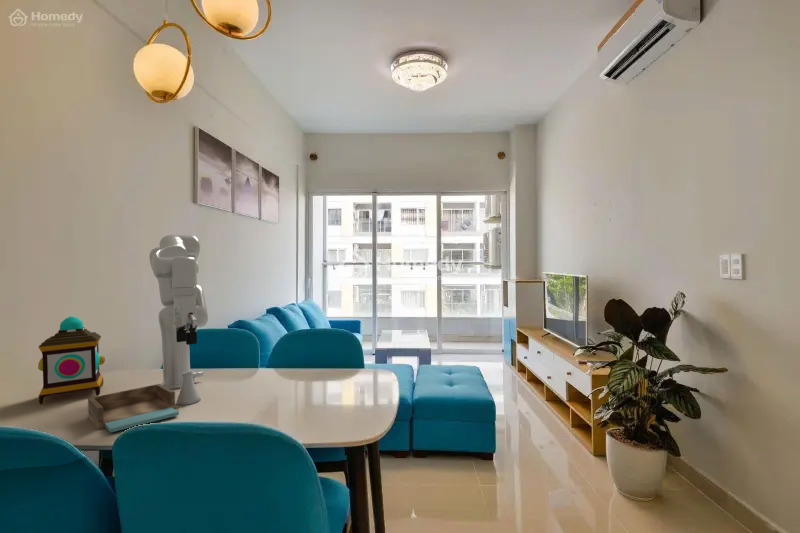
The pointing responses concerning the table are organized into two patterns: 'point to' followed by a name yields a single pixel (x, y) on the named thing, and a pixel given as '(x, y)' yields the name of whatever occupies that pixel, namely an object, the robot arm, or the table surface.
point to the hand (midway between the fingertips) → (186, 342)
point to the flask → (188, 391)
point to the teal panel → (141, 419)
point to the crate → (129, 404)
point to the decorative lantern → (70, 360)
